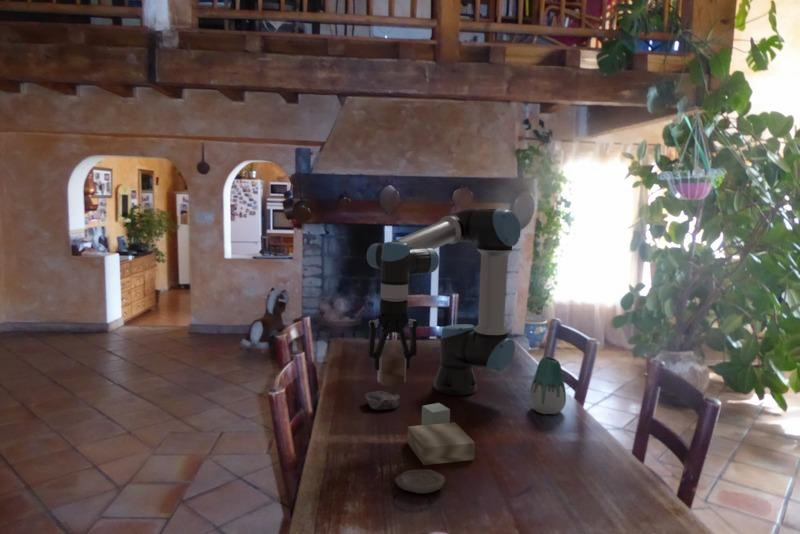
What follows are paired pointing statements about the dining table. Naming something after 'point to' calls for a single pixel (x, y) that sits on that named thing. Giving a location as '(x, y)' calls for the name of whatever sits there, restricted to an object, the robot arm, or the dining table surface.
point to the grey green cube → (435, 414)
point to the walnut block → (393, 370)
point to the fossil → (420, 481)
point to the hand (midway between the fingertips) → (391, 380)
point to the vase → (548, 387)
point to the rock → (382, 400)
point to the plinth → (440, 443)
